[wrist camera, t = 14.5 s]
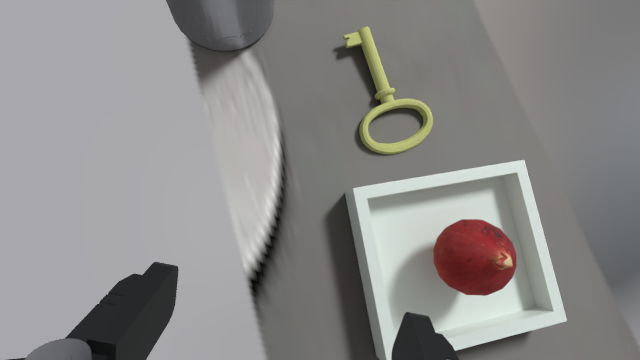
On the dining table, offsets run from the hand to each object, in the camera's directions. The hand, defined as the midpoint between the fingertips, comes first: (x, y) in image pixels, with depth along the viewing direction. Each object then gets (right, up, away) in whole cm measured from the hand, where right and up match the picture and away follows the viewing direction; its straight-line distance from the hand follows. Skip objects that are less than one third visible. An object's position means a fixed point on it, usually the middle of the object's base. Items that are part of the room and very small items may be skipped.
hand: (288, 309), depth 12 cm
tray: (+12, -2, +20) cm, 23 cm away
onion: (+12, -2, +19) cm, 23 cm away
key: (+7, +12, +22) cm, 26 cm away
